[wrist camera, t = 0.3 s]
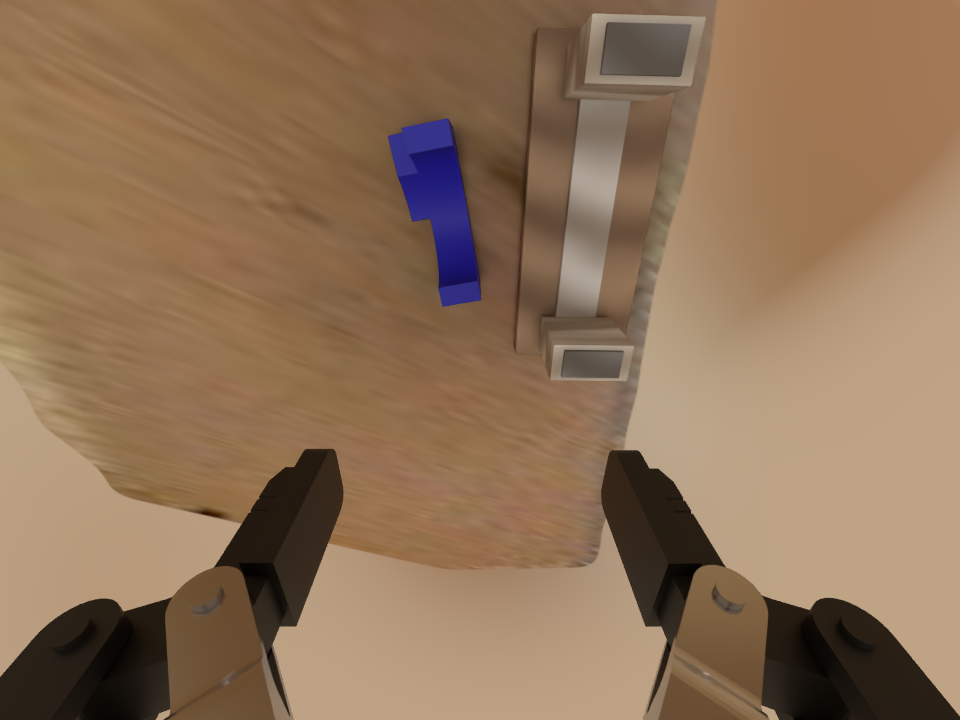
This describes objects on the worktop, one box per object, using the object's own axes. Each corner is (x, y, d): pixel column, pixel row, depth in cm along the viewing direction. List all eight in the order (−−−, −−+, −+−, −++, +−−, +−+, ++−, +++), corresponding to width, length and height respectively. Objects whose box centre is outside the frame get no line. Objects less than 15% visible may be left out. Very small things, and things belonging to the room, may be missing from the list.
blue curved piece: (395, 138, 30) (378, 132, 25) (452, 126, 30) (448, 118, 24) (431, 287, 35) (423, 310, 30) (480, 279, 35) (481, 300, 30)
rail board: (534, 34, 27) (557, -16, 20) (676, 38, 27) (753, -10, 20) (514, 347, 38) (523, 392, 30) (616, 348, 38) (651, 394, 31)
